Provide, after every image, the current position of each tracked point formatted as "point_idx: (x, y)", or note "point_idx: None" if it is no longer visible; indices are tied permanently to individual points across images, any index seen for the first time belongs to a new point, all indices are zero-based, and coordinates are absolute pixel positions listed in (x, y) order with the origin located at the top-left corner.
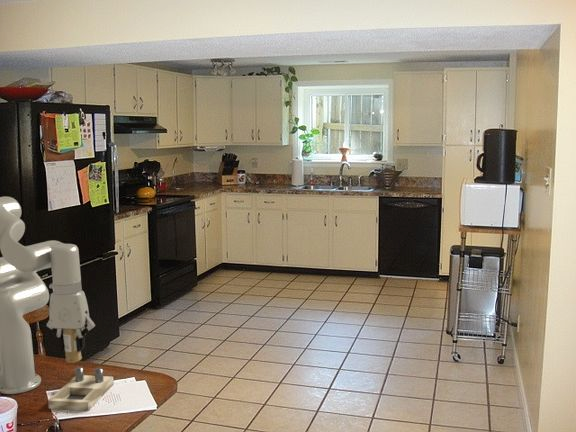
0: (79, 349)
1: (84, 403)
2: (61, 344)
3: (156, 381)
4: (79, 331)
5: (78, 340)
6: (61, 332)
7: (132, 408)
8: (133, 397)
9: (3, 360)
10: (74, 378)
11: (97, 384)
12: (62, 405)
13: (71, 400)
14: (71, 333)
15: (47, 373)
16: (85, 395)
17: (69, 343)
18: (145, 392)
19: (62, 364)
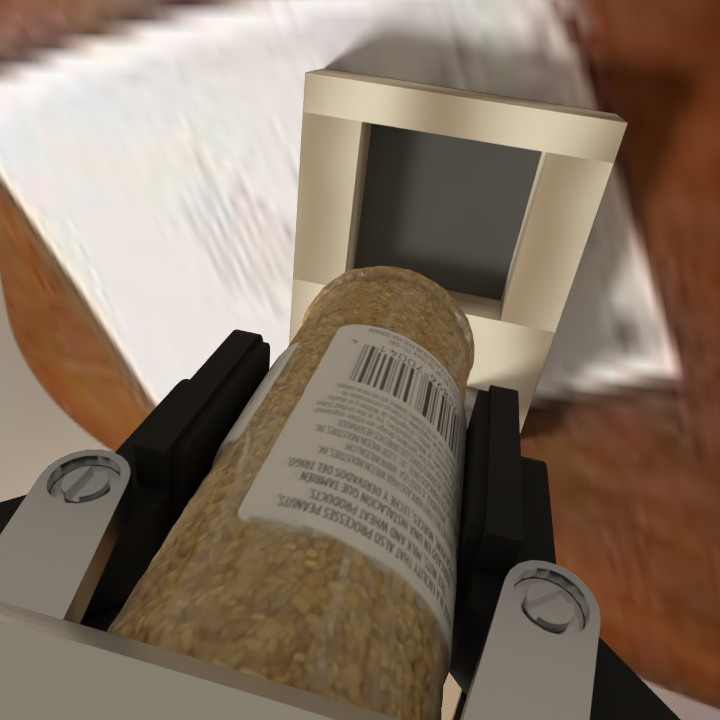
0: (227, 345)
1: (332, 75)
2: (496, 444)
3: (108, 394)
4: (10, 559)
5: (155, 422)
6: (479, 656)
7: (77, 97)
8: (135, 237)
9: None
10: None
11: None
12: (507, 100)
13: (437, 114)
14: (199, 545)
15: (707, 565)
16: None
17: (324, 399)
18: (103, 288)
19: (636, 632)
